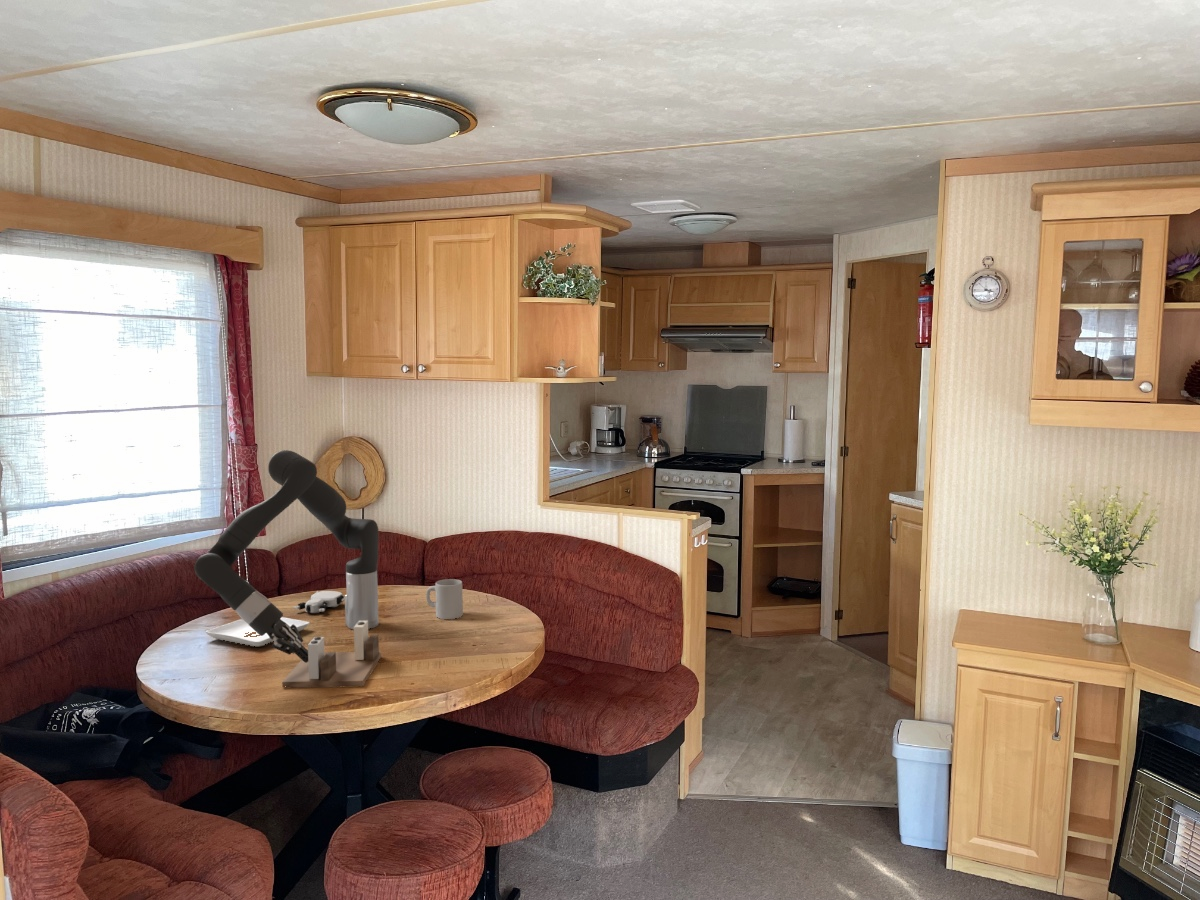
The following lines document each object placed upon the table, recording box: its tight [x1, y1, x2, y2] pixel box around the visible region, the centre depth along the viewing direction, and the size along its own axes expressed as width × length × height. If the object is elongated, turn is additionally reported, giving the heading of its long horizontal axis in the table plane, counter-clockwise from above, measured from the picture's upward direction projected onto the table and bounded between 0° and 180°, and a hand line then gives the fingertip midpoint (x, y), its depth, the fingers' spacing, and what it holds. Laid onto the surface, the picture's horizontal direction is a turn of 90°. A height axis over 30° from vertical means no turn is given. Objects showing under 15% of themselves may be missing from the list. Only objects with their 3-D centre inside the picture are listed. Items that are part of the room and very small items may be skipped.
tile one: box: [353, 621, 369, 660], centre depth 242 cm, size 2×6×9 cm, turn 2°
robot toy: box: [293, 590, 345, 614], centre depth 293 cm, size 12×4×15 cm
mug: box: [425, 578, 464, 620], centre depth 285 cm, size 12×8×11 cm
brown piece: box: [281, 634, 382, 688], centre depth 235 cm, size 20×22×6 cm
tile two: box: [307, 636, 325, 679], centre depth 228 cm, size 2×6×9 cm, turn 2°
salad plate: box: [205, 616, 310, 648], centre depth 265 cm, size 21×21×3 cm
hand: (309, 659), depth 228 cm, fingers closed
